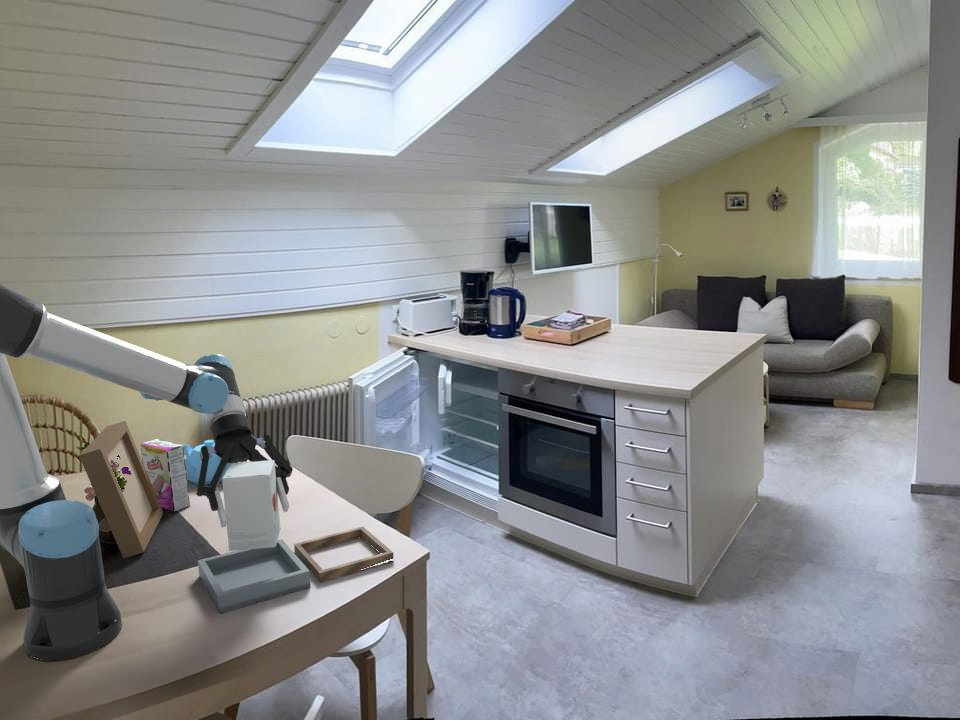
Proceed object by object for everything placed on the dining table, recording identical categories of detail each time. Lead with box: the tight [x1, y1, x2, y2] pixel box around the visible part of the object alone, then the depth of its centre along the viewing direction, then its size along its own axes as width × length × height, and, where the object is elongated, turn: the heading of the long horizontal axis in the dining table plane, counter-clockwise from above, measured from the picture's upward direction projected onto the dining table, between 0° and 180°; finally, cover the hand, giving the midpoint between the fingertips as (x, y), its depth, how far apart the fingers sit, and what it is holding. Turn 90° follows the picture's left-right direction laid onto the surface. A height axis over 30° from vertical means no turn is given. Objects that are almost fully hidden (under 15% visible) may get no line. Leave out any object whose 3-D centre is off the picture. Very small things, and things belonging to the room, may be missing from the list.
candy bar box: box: [139, 438, 191, 513], centre depth 190 cm, size 11×5×16 cm, turn 58°
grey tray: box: [197, 539, 311, 614], centre depth 151 cm, size 17×17×4 cm
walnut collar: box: [293, 526, 395, 583], centre depth 161 cm, size 16×16×2 cm
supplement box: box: [222, 459, 281, 552], centre depth 148 cm, size 9×9×15 cm
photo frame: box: [78, 420, 164, 559], centre depth 170 cm, size 15×22×25 cm
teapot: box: [182, 439, 231, 486], centre depth 210 cm, size 15×15×11 cm
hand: (256, 516), depth 147 cm, fingers closed on supplement box, 11 cm apart
